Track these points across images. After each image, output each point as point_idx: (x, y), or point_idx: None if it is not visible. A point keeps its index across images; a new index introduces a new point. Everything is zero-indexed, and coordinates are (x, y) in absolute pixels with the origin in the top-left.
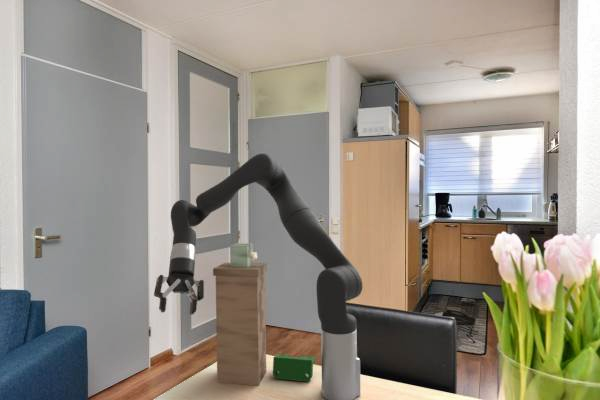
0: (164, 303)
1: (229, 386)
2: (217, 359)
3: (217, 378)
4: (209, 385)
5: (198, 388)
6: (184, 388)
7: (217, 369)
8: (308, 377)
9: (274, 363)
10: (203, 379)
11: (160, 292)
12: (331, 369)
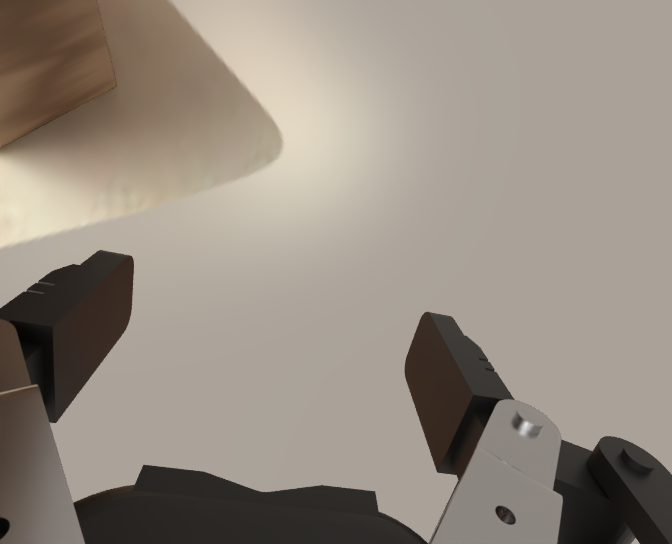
0: (468, 351)
1: None
2: (102, 28)
3: (114, 76)
4: (160, 92)
5: (208, 109)
6: (249, 153)
7: (109, 57)
8: None
9: None
10: (152, 157)
11: (611, 461)
12: None
